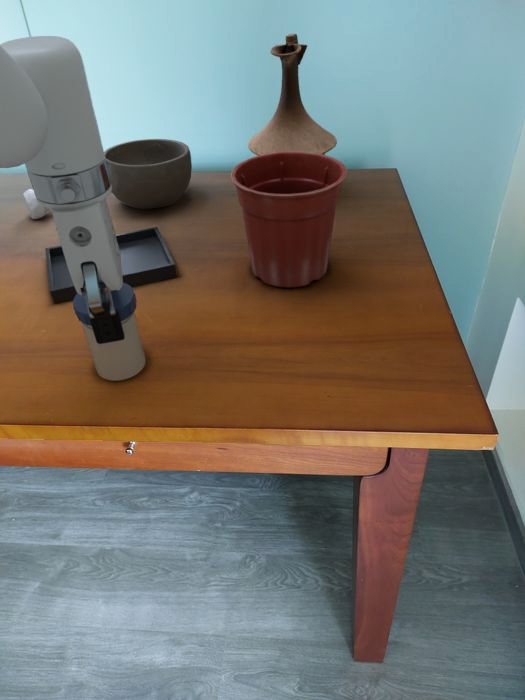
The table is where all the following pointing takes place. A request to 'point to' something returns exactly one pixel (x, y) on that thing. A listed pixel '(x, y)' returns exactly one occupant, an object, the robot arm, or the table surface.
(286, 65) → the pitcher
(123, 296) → the jar lid
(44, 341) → the table surface
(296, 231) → the flower pot
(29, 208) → the garlic bulb
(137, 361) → the jar
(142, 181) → the bowl
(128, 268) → the tray
